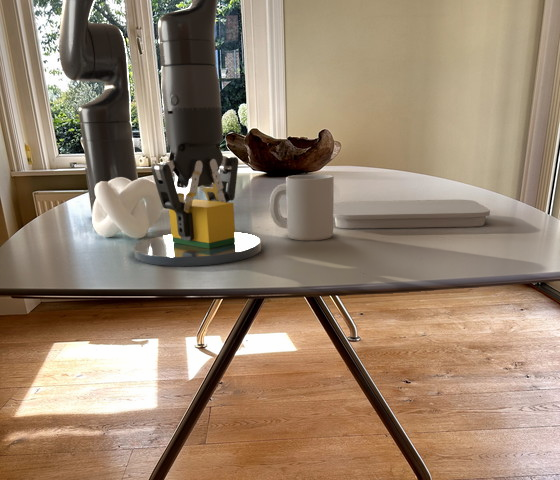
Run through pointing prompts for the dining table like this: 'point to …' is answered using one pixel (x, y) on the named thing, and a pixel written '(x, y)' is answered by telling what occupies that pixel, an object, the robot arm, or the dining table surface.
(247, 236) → the plate
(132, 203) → the white knot sculpture
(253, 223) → the dining table surface
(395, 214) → the grey flat slab
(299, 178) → the cup
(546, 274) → the dining table surface
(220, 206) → the sponge
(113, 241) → the dining table surface
